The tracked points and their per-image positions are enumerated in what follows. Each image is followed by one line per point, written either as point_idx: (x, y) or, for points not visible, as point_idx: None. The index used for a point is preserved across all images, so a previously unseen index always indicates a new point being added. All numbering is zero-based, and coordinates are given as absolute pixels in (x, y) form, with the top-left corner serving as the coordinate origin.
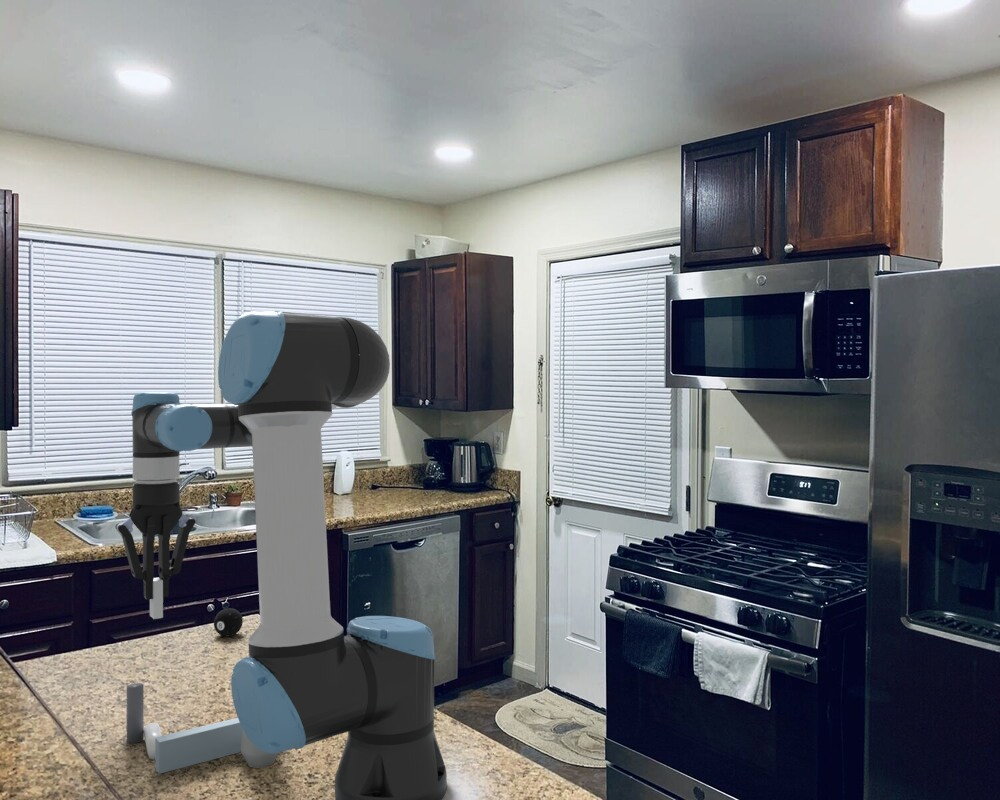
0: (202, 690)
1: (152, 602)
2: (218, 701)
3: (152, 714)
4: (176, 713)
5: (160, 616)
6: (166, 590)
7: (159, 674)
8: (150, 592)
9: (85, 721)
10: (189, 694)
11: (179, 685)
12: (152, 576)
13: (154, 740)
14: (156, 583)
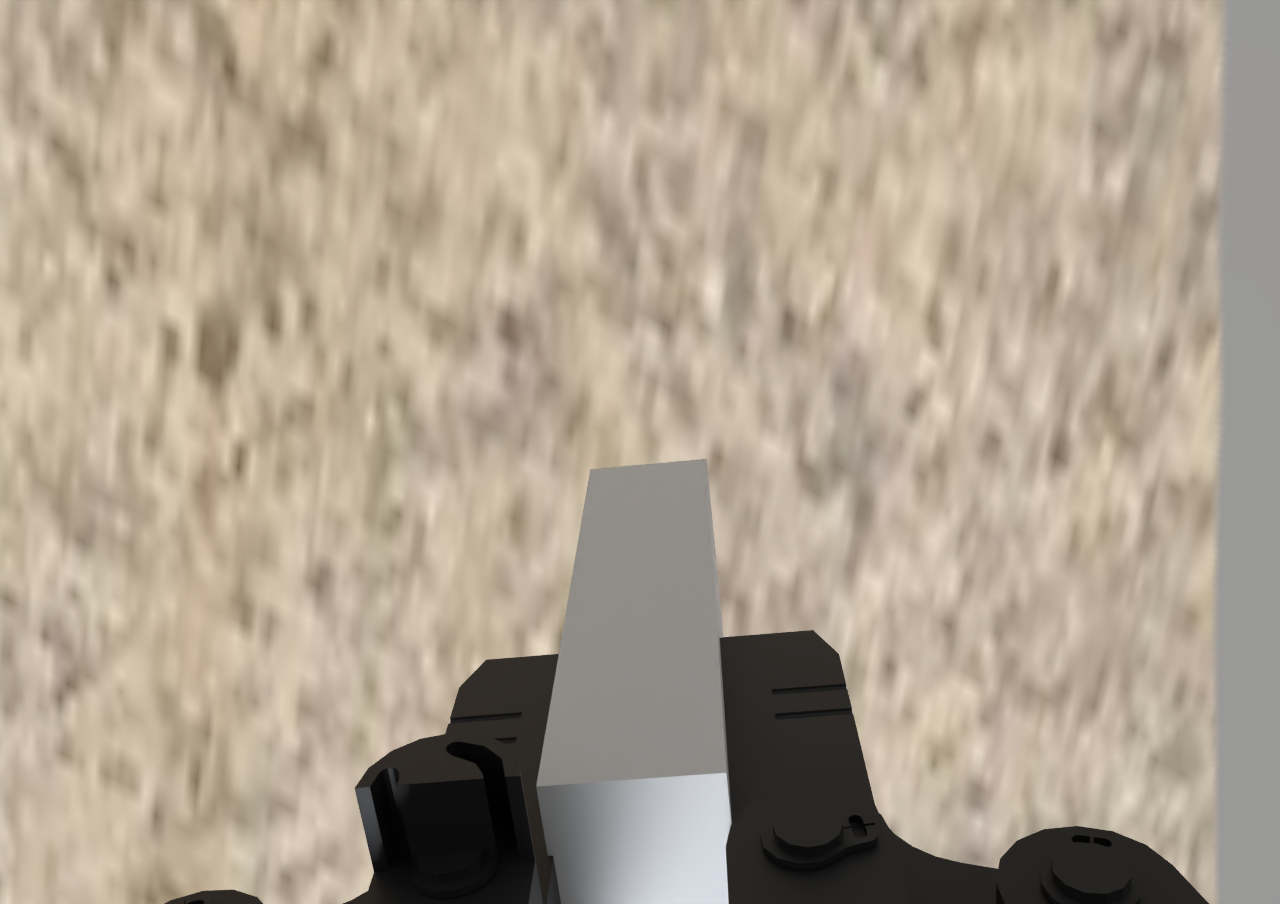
0: (347, 401)
1: (719, 628)
2: (265, 126)
3: (717, 115)
4: (565, 43)
5: (620, 472)
6: (488, 723)
7: None
8: (765, 695)
9: (1125, 223)
10: (437, 370)
11: (477, 568)
12: (759, 856)
13: None
14: (670, 744)
